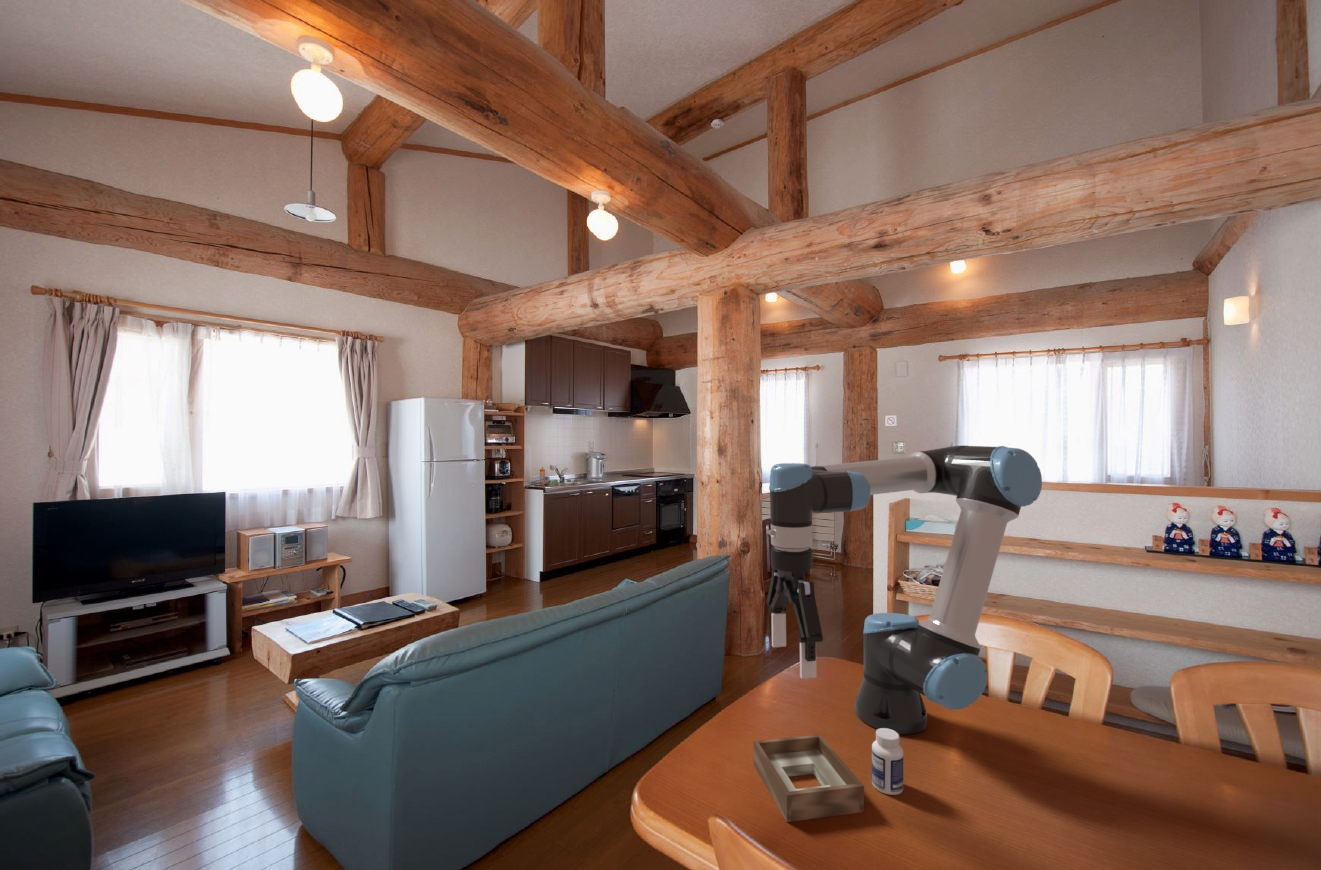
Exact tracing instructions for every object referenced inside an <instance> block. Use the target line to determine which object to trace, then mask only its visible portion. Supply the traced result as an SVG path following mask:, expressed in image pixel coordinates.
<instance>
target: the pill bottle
mask: <svg viewBox="0 0 1321 870" xmlns="http://www.w3.org/2000/svg"><path fill="white" fill-rule="evenodd" d="M871 784H872V786H873V787H874V789H876V790H877V791H878V792H880V793H883V794H885V795H891V796H897V795H900V794H901V793H903V791H904V750H903V748H902V747H901V745H900V734H898V733H897V732H895V731H894V730H891V729H888V728H880V729H876V730H875V740H874V741H873V742H872V743H871Z"/></svg>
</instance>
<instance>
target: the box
mask: <svg viewBox="0 0 1321 870" xmlns="http://www.w3.org/2000/svg"><path fill="white" fill-rule="evenodd" d="M752 756H753V762H752V763H753V766H754V768H755V770H756V771H757V772H758V775H759V776H760V779H761V780H762V782H763V784H764V785H765V787H766V789H767V790H768V792H769V794H770V795H771V797H772V798H773V801H774V803H775V804H776V806H777V807H778V809H779V811H780V813H781V815H782V817H783V818H784V820H785V822H786V823H791V822H797V821H806V820H813V819H822V818H828V817H836V816H843V815H844V816H845V815H851V814H859V813H864V812H865V811H864V809H865V808H864V805H865V804H864V803H865V802H864V801H865V799H864V798H865V795H864V794H865V785H863V783H862V782H861V781H860V780H859V778H858V777H857V776H856V775H855V774H854V772H853V771H852V770H851V769H850V767H848V765H847V764H846V763H845V762H844V761H843V759H841V757H840V756H839V754H837V752H836V751H835V749H833V748H832V746H831V745H830V744H829V743H828V741H826V740H825V738H824V737H823V735H821V734H811V735H801V736H793V737H792V736H791V737H782V738H781V737H780V738H771V739H763V740H753V755H752ZM805 775H814V776H815V778H816V779H817V781H818V782H819V784H820V785H818V786H809V787H801V788H796V787H795V785H794V783H793V782H792V780H791V779H790V777H797V776H805Z"/></svg>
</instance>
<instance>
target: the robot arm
mask: <svg viewBox="0 0 1321 870" xmlns="http://www.w3.org/2000/svg"><path fill="white" fill-rule="evenodd" d="M1038 465H1039V464H1038V462H1037V461H1036V459H1035V458H1034V457H1033V455H1031V454H1030V453H1029V452H1028V451H1026V450H1024V449H1021V448H1017V447H1008V446H1004V445H999V446H982V445H981V446H980V445H977V446H976V445H953V446H946V447H941V448H935V449H928V450H924V451H923V450H922V451H914V452H912V453H910V454H909V455H908V456H907V457H906V456H905V457H898V458H897V457H896V458H885V459H876V460H865V461H857V462H856V461H854V462H847V463H846V462H845V463H836V464H835V463H834V464H825V465H817V466H815V465H813V466H811V465H810V464H808V463H800V462H799V463H798V462H797V463H795V462H794V463H793V462H792V463H776V464H773V465H772V467H771V468H770V476H769V488H768V490H769V502H770V503H769V507H770V510H769V512H770V529H769V530H768V535H769V536H770V544H771V546H772V547H771V548H770V566H771V578H770V583H769V587H768V593H767V599H766V606H767V607H769V610H770V614H771V615H770V616H771V647H772V648H783V647H787V614H786V612H787V611H788V610H787V607H786V605H787V604H788V603H789V604H790V605H791V606H792V608H793V611H794V614H795V617H796V622H797V624H798V628H799V629H798V630H799V633H800V636H801V637H800V638H798V643H799V677H800V678H801V679H802V680H804V679H814V678H817V676H818V675H817V643H822V642H824V636H823V631H822V626H821V622H820V616H819V611H818V606H817V600H816V595H815V584H814V582H813V581H806V576H805V573H807V572H808V571H811V570H812V569H813V565H814V564H813V550H812V548H811V547H812V546H813V541H814V540H813V514H822V513H823V514H825V513H827V514H828V513H844V512H847V513H850V512H853V511H854V512H856V511H860V510H863V509H864V508H866V507H867V506H868V504H869V502H870V500H871V496H873V495H882V494H888V493H889V494H890V493H898V492H907V491H914V492H915V493H918V494H928V493H931V494H932V493H934V494H943V495H950V496H956V497H955V501H956V503H957V505H958V506H959V507H960V513H959V517H958V520H957V523H956V526H955V530H954V533H953V537H952V539H951V542H950V543H951V544H950V547H949V549H948V550H949V551H948V554H947V557H946V560H945V564H944V566H943V570H942V574H941V577H940V580H939V584H938V587H937V591H936V594H935V596H934V597H935V598H934V601H933V604H932V608H931V611H930V613H929V617H928V618H926V619H924V620H922V621H920V620H919V619H918V618H917V617H916V616H913V615H909V614H904V613H896V612H877V613H874V614H870V615H868V616H866V618H865V619H864V623H863V624H864V627H863V632H862V633H863V677H862V678H863V679H862V681H861V683H860V687H859V690H858V693H857V695H856V697H855V703H854V707H855V708H854V712H855V714H856V716H857V717H858V718H859V720H860V721H862V722H863V723H864V724H866V725H867V726H870V727H872V728H874V729H876V730H877V729H880V728H888V729H891V730H894V731H895V732H897V733H898V734H899V735H914V734H919V733H921V732H923V731H925V730H926V729H927V726H928V713H927V709H926V706H925V702H924V700H923V696H924V697H925V698H926V699H928V700H929V701H930V702H932V703H934V704H938V705H940V706H941V707H943V708H945V709H948V710H955V711H957V710H958V711H959V710H962V709H963V710H964V709H965V708H968V707H969V706H970V705H973V704H974V703H975V702H976V701H977V700H979V698H980V697H981V695H982V694H983V692H984V691H985V688H986V686H987V681H988V672H987V668H986V665H985V663H984V662H983V661H982V659H981V658H980V657H979V655H980V651H981V648H982V647H981V644H980V643H979V641H978V639H977V637H976V633H977V630H978V626H979V622H980V619H981V615H982V611H983V609H984V606H985V602H986V599H987V595H988V591H989V588H990V585H991V581H992V577H993V573H994V570H995V567H996V563H997V560H998V556H999V552H1000V549H1001V546H1002V543H1003V539H1004V537H1005V536H1004V535H1005V533H1006V527H1007V525H1008V524H1009V522H1011V521H1013V520H1015V519H1018V518H1019V515H1020V512H1021V508H1022V507H1027V506H1030V505H1032V504H1033V503H1034V502H1036V501H1037V500H1038V498H1039V497H1040V494H1041V491H1042V488H1043V487H1042V485H1043V477H1042V473H1041V469H1040V467H1039V466H1038ZM788 601H789V602H788Z"/></svg>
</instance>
